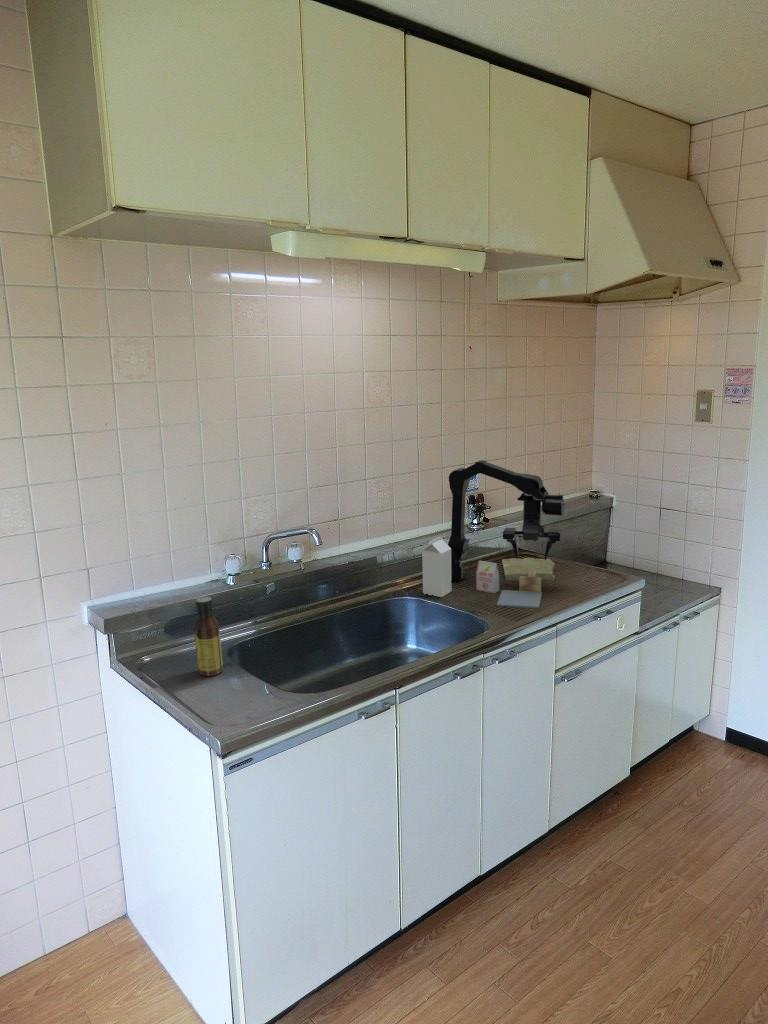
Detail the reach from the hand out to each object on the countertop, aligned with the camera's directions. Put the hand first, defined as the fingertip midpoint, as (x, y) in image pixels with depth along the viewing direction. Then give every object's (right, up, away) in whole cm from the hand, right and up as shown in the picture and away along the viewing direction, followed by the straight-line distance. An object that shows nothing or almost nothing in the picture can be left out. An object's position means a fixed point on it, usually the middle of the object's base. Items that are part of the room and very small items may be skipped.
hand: (531, 559), depth 246 cm
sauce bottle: (-94, -25, -59) cm, 114 cm away
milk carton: (-32, -12, -1) cm, 34 cm away
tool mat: (-6, -12, -10) cm, 17 cm away
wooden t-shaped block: (+1, -10, +3) cm, 10 cm away
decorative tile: (+3, -7, +20) cm, 21 cm away
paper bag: (-15, -11, 0) cm, 18 cm away
